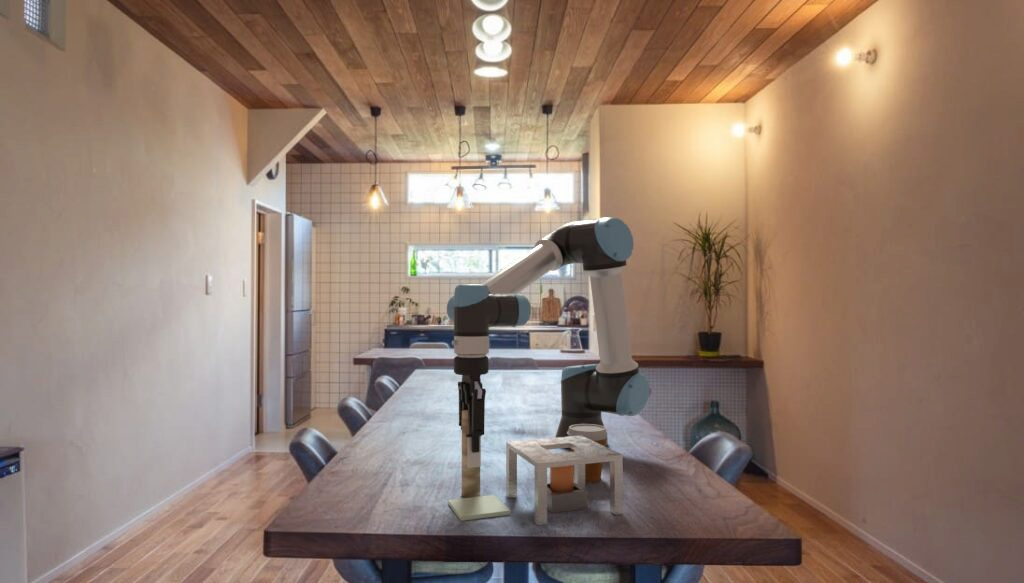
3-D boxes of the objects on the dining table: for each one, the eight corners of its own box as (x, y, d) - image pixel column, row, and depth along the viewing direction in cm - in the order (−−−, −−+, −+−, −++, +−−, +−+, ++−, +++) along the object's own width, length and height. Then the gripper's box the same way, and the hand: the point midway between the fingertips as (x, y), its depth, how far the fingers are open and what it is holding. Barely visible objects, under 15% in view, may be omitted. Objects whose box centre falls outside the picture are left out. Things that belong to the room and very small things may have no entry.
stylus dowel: (477, 491, 131) (477, 408, 131) (482, 496, 127) (482, 412, 127) (459, 492, 130) (459, 410, 130) (464, 498, 126) (464, 413, 126)
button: (567, 484, 126) (567, 456, 126) (577, 491, 121) (577, 462, 121) (546, 487, 124) (546, 458, 124) (556, 494, 120) (556, 464, 120)
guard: (581, 486, 134) (581, 435, 134) (622, 513, 117) (622, 454, 117) (506, 495, 128) (506, 441, 128) (538, 525, 111) (538, 463, 111)
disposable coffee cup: (610, 475, 143) (610, 425, 143) (603, 486, 134) (603, 433, 134) (572, 471, 146) (572, 422, 146) (562, 482, 137) (562, 430, 137)
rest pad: (494, 498, 126) (494, 494, 126) (510, 514, 117) (510, 510, 117) (448, 503, 123) (448, 500, 123) (460, 520, 113) (460, 516, 113)
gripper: (445, 352, 136) (444, 455, 135) (464, 359, 120) (464, 476, 119) (476, 351, 138) (476, 453, 138) (500, 358, 122) (500, 473, 122)
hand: (471, 463), depth 129 cm, fingers closed on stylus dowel, 4 cm apart
